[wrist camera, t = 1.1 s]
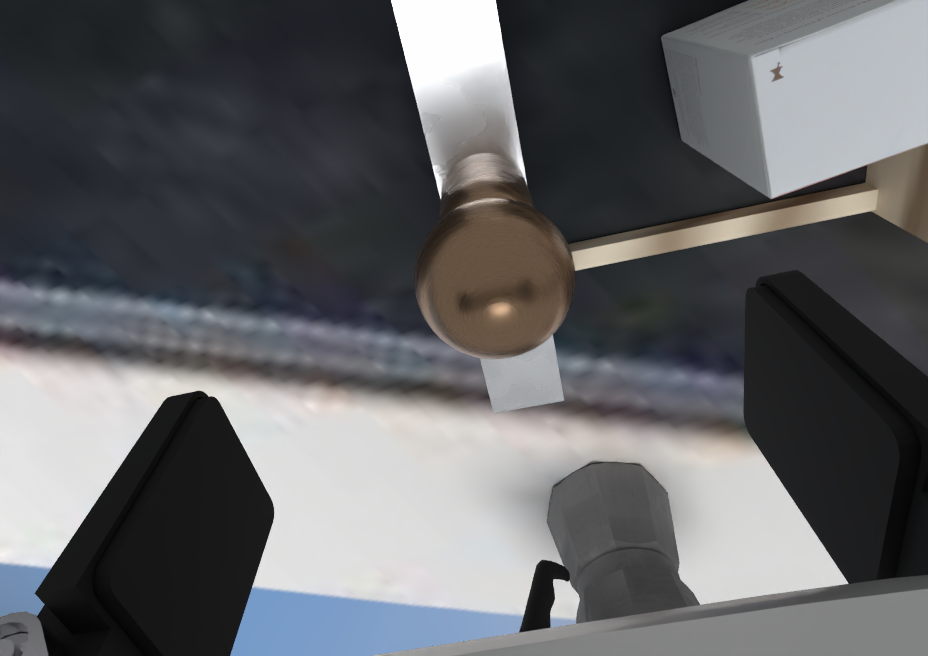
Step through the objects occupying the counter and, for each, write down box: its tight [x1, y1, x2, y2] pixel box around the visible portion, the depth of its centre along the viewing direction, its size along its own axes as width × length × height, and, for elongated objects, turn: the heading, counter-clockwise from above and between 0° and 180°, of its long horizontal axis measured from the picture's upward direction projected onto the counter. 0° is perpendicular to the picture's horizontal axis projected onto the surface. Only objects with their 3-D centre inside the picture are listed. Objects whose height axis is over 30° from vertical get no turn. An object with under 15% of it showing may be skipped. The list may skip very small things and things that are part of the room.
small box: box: [661, 0, 928, 199], centre depth 26 cm, size 8×6×10 cm
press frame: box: [568, 144, 928, 271], centre depth 26 cm, size 26×19×10 cm
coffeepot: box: [519, 462, 700, 633], centre depth 38 cm, size 15×9×18 cm, turn 64°
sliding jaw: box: [391, 0, 576, 413], centre depth 22 cm, size 4×19×20 cm, turn 13°
